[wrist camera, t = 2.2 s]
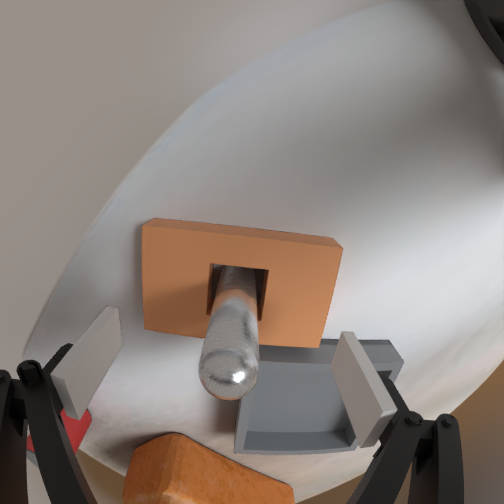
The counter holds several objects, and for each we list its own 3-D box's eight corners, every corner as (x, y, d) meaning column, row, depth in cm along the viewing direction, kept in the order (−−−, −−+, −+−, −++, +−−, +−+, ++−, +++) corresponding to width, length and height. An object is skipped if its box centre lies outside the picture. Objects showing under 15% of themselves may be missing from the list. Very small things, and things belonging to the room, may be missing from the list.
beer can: (86, 399, 30) (51, 462, 18) (97, 427, 32) (71, 486, 20) (50, 385, 30) (12, 440, 18) (63, 414, 31) (33, 467, 20)
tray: (388, 339, 27) (404, 361, 23) (347, 428, 31) (354, 450, 27) (248, 333, 26) (247, 359, 22) (234, 428, 31) (233, 452, 27)
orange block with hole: (332, 238, 24) (343, 247, 21) (312, 329, 26) (318, 347, 23) (154, 218, 23) (142, 225, 20) (154, 312, 26) (144, 329, 23)
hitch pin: (257, 264, 24) (265, 370, 11) (253, 295, 25) (256, 414, 12) (221, 260, 24) (194, 363, 11) (219, 292, 25) (194, 408, 12)
